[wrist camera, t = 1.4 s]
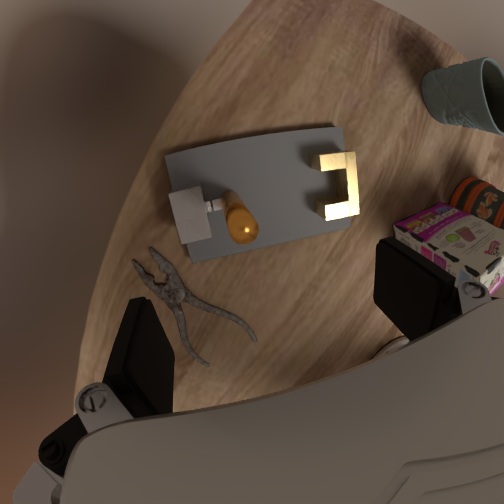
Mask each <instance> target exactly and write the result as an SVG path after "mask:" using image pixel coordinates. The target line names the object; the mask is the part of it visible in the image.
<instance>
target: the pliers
mask: <svg viewBox="0 0 504 504" xmlns="http://www.w3.org/2000/svg"><path fill="white" fill-rule="evenodd" d="M149 251H150V252H151V254H152V256H153V258H154V260H155V261H157V263H159V265H160V271H161V273H166V274H167V275H169V278H168V279H167V283H166V284H165V285H164V284H163V283H160V284H157V283H155V282H154V280H153V279H154V276H153V275H152V274H150V273H147V272H146V271H145V270H144V267H143V266H142V265H140V264H139V263H138V262H137V261H136V260H135V259H134V260H133V261H132V263H133V265H134V266H135V268H136V270H137V272H138V273H139V275H140V277H141V278H142V280H143V282H144V283H145V284H146V285H147V286H148V287H149V288H150V289H151V290H152V291H153V292H154V293H155V294H156V295H157V296H158V297H160V298H161V299H162V300H164V302H165V303H166V304H167V306H168V307H169V308H170V309H171V310H172V311H173V313H174V315H175V317H176V320H177V323H178V327H179V331H180V335H181V339H182V341H183V344H184V346H185V348H186V349H187V351H188V352H189V353H190V354H191V355H192V356H193V357H194V358H195V359H196V360H197V361H198V362H200V363H201V364H203V365H205V366H207V367H209V366H210V365H209V363H207V362H206V361H204V360H203V359H201V358H200V357H199V356H198V355H197V354H196V353H195V352H194V351H193V349H192V348H191V346H190V344H189V341H188V337H187V331H186V324H185V318H184V314H183V311H182V308H181V305H180V302H181V301H184V302H187V303H189V304H191V305H193V306H195V307H197V308H199V309H202V310H204V311H207V312H211V313H214V314H217V315H220V316H223V317H226V318H228V319H231V320H233V321H235V322H236V323H238V324H239V325H240V326H242V327H243V328H244V329H245V330H246V331H247V332H248V334H249V335H250V337H251V338H252V340H253V342H256V341H257V339H256V336H255V334H254V332H253V331H252V330H251V328H250V327H249V326H248V325H247V324H246V323H245V322H244V321H243V320H242V319H241V318H239V317H237V316H236V315H234V314H232V313H230V312H228V311H225V310H223V309H220V308H218V307H215V306H213V305H210V304H208V303H206V302H204V301H202V300H200V299H198V298H197V297H196V296H194V295H193V294H192V293H191V292H190V291H189V290H188V289H187V288H186V287H185V286H184V284H183V282H182V280H181V279H180V277H179V275H178V273H177V272H176V270H175V268H174V266H173V265H172V264H171V263H170V262H169V261H168V260H166V259H165V258H164V257H163V256H162V255H160V254H159V253H158V252H157V251H156V250H154V249H153V248H152V247H150V248H149Z"/></svg>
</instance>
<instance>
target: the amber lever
mask: <svg viewBox="0 0 504 504" xmlns="http://www.w3.org/2000/svg"><path fill="white" fill-rule="evenodd" d="M204 202H205V207H206V211H207V213H208V212H212V208H211V203H210V199H209V200H205V201H204ZM212 203H213V208H214V211H217V210H221V209H222V210H223V213H224V217H225V220H226V224H227V227H228V231H229V234H230V237H231V239H232V240H233V241H234V242H236V243H238V244H241V245H245V244H249V243H251V242H253V241H254V240H255V239H256V238H257V236H258V233H259V226H258V224H257V222H256V220H255V219H254V217H253V216H252V214H251V213H250V211H249V210H248V208H247V207H246V205H245V204H244V202H243V201H242V200H241V198H240V197H239V195H238V194H237V193H236V192H234V191H226V192H225V193H223V194H222V196H221V197H218V198H213V199H212Z"/></svg>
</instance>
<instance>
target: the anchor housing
mask: <svg viewBox="0 0 504 504" xmlns="http://www.w3.org/2000/svg"><path fill="white" fill-rule="evenodd" d="M168 195H169V199H170V203H171V207H172V211H173V215H174V218H175V222H176V226H177V229H178V233H179V237H180V240H181V244H186V243H190V242H194V241H199V240H203V239H207V238H211V237H212V230H211V225H210V220H209V217H208V215H207V211H206V207H205V202H204V198H203V189H202V185H201V182H197V183H193V184H189V185H185V186H181V187H177V188H173V189H171V191H170V192H169V194H168Z"/></svg>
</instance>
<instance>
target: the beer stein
mask: <svg viewBox="0 0 504 504" xmlns="http://www.w3.org/2000/svg"><path fill="white" fill-rule="evenodd" d="M449 205H450V206H452V207H455V208H457V209H460V210H462V211H464V212H466V213H469V214H471V215H474V216H476V217H478V218H480V219H482V220H485V221H487V222H489V223H491V224H493V225H495V226H497V227H499V228H501V229H503V230H504V192H502V191H500V190H498V189H496V188H495V187H494V186H493V185H492V184H489V183H487V182H485V181H483V180H480V179H478V178H476V177H470V178H467V179H465V180H464V181H462V182H461V183H460V184H459V185H458V186H457V188H456V189H455V191H454V192H453V194H452V196H451V199H450V202H449Z"/></svg>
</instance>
